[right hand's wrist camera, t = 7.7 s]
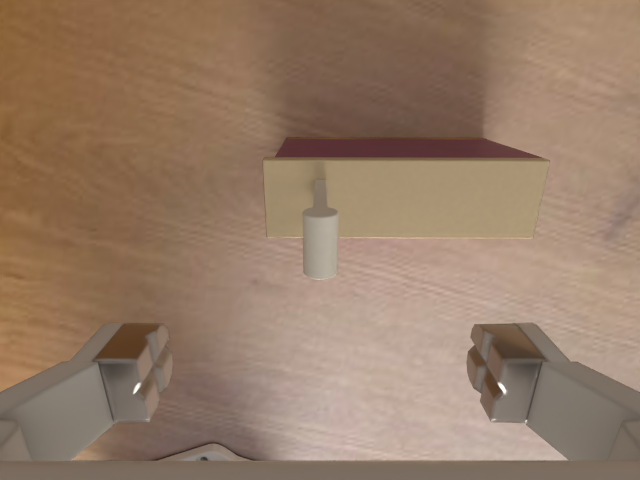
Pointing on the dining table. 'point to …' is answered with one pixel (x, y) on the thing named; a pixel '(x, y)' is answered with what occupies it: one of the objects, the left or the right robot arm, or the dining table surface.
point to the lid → (397, 200)
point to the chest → (398, 148)
